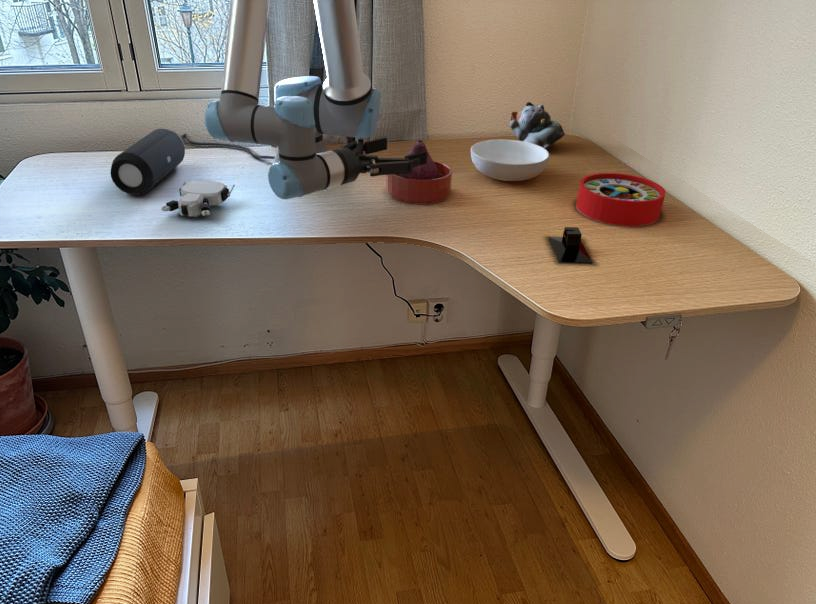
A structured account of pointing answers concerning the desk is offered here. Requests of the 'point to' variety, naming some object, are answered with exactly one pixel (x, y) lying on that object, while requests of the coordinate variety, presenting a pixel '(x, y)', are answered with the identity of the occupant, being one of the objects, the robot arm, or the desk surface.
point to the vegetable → (424, 170)
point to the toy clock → (620, 199)
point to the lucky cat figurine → (535, 126)
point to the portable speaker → (147, 161)
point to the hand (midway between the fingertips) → (405, 150)
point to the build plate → (570, 247)
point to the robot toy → (199, 197)
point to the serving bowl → (509, 159)
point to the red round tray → (421, 187)
